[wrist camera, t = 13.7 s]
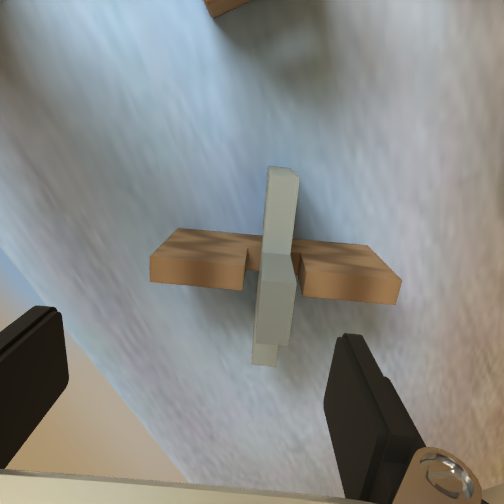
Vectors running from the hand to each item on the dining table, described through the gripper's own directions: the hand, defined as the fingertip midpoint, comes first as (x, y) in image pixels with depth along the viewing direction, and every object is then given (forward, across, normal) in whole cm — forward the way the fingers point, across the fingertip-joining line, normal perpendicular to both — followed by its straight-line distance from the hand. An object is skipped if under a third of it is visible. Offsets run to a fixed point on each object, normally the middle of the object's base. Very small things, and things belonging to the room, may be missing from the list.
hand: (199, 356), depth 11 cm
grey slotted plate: (+27, -4, +5) cm, 28 cm away
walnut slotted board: (+27, -4, +5) cm, 28 cm away
